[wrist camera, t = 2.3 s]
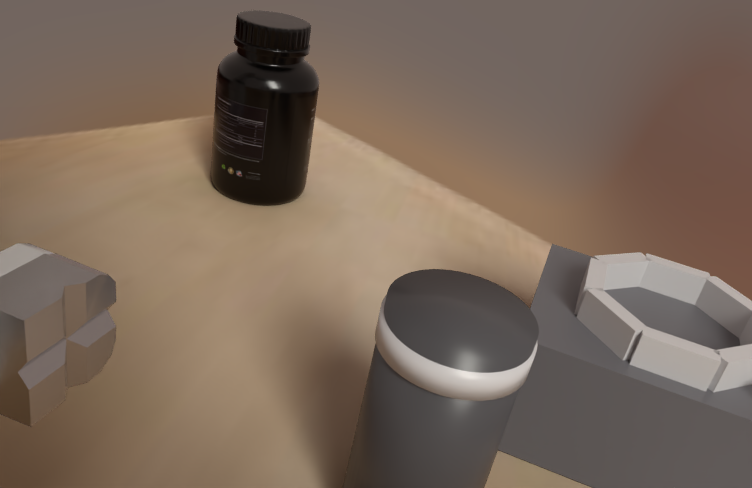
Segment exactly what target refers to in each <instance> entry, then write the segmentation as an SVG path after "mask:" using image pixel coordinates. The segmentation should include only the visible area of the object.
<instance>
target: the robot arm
mask: <svg viewBox="0 0 752 488" xmlns="http://www.w3.org/2000/svg"><path fill="white" fill-rule="evenodd" d="M115 302H116V284H115V281H114V280H113V279H112V278H111V277H110V276H109V275H108V274H105V273H103V272H100V271H98V270H95V269H93V268H90V267H88V266H85V265H83V264H80V263H78V262H76V261H73V260H71V259H68V258H66V257H63V256H61V255H58V254H54V253H52V252H50V251H47V250H45V249H42V248H40V247H37V246H34V245H32V244H26V243H17V244H15V245H13V246H11V247H9V248H7V249H5V250H3V251H1V252H0V414H1V415H3V416H5V417H8V418H10V419H13V420H15V421H18V422H20V423H23V424H25V425H27V426H30V427H32V426H33V425H34V424H35V423H37V422H38V421H39V420H41V419H42V418H43V417H44V416H46V415H47V414H48V413H49V412H51V411H52V410H53V409H55V408H56V407H57V406H58V405H60V404H61V403H62V402H63V401H65V399H66V393H67V388H68V387H72V386H76V385H80V384H84V383H87V382H89V381H90V380H91V379H92V378H93V377H94V376H96V375H97V374H98V373H99V372H100V371H101V370H102V369H103V367H104V365H105V364H106V362H107V361H108V359H109V358H110V356H111V355H112V351H113V347H114V344H115V340H116V325H115V323H114V321H113V320H112V318H111V316H110V314H109V312H108V309H109V308H110V307H111V306H112V305H113V304H114V303H115ZM672 488H673V487H672Z"/></svg>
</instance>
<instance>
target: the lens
mask: <svg viewBox="0 0 752 488" xmlns="http://www.w3.org/2000/svg"><path fill="white" fill-rule="evenodd" d="M538 335H539V326H538V323H537V320H536V318H535V316H534V314H533V313H532V311H531V310H530V309H529V307H528V306H527V305H526V304H525V303H524V302H523V301H522V300H520V299H519V298H518V297H517V296H515V295H514V294H513V293H511V292H510V291H508V290H506V289H505V288H503V287H501V286H499V285H497V284H495V283H493V282H491V281H489V280H486V279H483V278H481V277H478V276H474V275H471V274H467V273H463V272H458V271H452V270H441V269H429V270H419V271H415V272H411V273H408V274H405V275H403V276H401V277H399V278H398V279H396V280H395V281H394V282H393V283H392V284H391V286H390V287H389V289H388V292H387V295H386V296H385V298H384V299H383V301H382V305H381V308H380V313H379V317H378V322H377V326H376V331H375V340H376V344H375V349H374V353H373V357H372V362H371V366H370V371H369V375H368V379H367V384H366V388H365V393H364V397H363V401H362V406H361V410H360V415H359V419H358V423H357V428H356V432H355V437H354V441H353V445H352V450H351V454H350V459H349V463H348V467H347V472H346V476H345V481H344V485H343V488H484V487H485V484H486V481H487V479H488V476H489V473H490V470H491V467H492V465H493V462H494V459H495V456H496V453H497V451H498V448H499V445H500V442H501V439H502V437H503V434H504V431H505V428H506V426H507V423H508V420H509V417H510V414H511V412H512V409H513V406H514V403H515V400H516V398H517V395H518V392H519V389H520V387H521V386H522V385H523V384H524V382H525V381H526V379H527V376H528V374H529V371H530V368H531V365H532V363H533V360H534V357H535V354H536V351H537V346H538V344H537V339H538Z"/></svg>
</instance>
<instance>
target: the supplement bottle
mask: <svg viewBox="0 0 752 488" xmlns="http://www.w3.org/2000/svg"><path fill="white" fill-rule="evenodd" d="M310 31H311V25H310V24H309V23H308V22H307V21H305V20H303V19H300V18H298V17H294V16H291V15H287V14H282V13H277V12H269V11H244V12H240V13H239V14H238V15H237V20H236V34H235V36H234V43H235V45H236V46H238V49H237V51H234V52H232V53H230V54H228V55H227V56H226V57H225V58H224V59H223V60H222V61H221V63H220V64H219V66H218V70H217V82H216V97H215V113H214V129H213V145H212V161H211V179H212V182H213V184H214V186H215V187H216V189H217V190H218V191H219V192H221V193H222V194H223V195H225V196H227V197H229V198H231V199H234V200H237V201H240V202H244V203H248V204H255V205H278V204H283V203H287V202H290V201H292V200H294V199H296V198H297V197H299V196H300V195H301V194H302V192H303V191H304V188H305V185H306V178H307V172H308V164H309V157H310V149H311V142H312V135H313V127H314V120H315V111H316V104H317V97H318V89H319V79H318V76H317V73H316V71H315V70H314V68H313V67H312V66H311V65H310V64H309V63H308V62H307V61H305V60H304V57H305V56H306V55H308V54H309V50H310V45H309V39H310Z"/></svg>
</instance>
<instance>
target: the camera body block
mask: <svg viewBox="0 0 752 488" xmlns="http://www.w3.org/2000/svg"><path fill="white" fill-rule="evenodd" d="M530 310H531V311H532V313H533V314H534V316H535V318H536V320H537V323H538V326H539V335H538V339H537V344H538V346H537V351H536V354H535V357H534V360H533V363H532V365H531V368H530V371H529V374H528V376H527V379H526V381H525V382H524V384H523V385H522V386H521V387H520V389H519V392H518V395H517V398H516V400H515V403H514V406H513V409H512V412H511V414H510V417H509V420H508V423H507V426H506V428H505V431H504V434H503V437H502V439H501V442H500V445H499V448H498V450H500V451H502V452H505V453H507V454H510V455H512V456H515V457H517V458H520V459H522V460H525V461H527V462H530V463H532V464H535V465H537V466H540V467H542V468H545V469H547V470H550V471H552V472H555V473H557V474H560V475H563V476H565V477H568V478H570V479H573V480H575V481H578V482H580V483H583V484H585V485H588V486H590V487H593V488H672V487H673V488H752V301H751V300H749V299H748V298H747V297H745V296H744V295H742V294H741V293H739V292H738V291H736V290H735V289H733V288H732V287H731V286H729V285H728V284H726V283H725V282H723V281H722V280H720V279H719V278H717V277H716V276H712V277H710V274H709V273H707V272H704V271H701V270H698V269H694V268H691V267H688V266H685V265H682V264H679V263H676V262H672V261H669V260H666V259H663V258H660V257H657V256H654V255H650V254H646V255H644V254H642V253H641V252H639V253H626V254H613V255H600V256H594V257H591V256H588V255H585V254H582V253H579V252H576V251H572V250H570V249H567V248H563V247H560V246H557V245H554V244H552V246H551V249H550V252H549V255H548V258H547V261H546V264H545V267H544V270H543V272H542V275H541V278H540V281H539V284H538V287H537V290H536V293H535V296H534V299H533V302H532V304H531V307H530Z"/></svg>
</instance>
